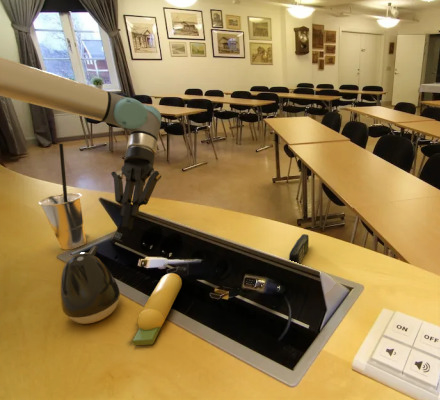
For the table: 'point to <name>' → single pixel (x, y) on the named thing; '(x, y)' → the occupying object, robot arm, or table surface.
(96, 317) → the dark brown egg shape
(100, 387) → the table surface
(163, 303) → the corn cob
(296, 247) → the mobile phone
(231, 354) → the table surface
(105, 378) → the table surface
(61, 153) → the silver cup with straw
